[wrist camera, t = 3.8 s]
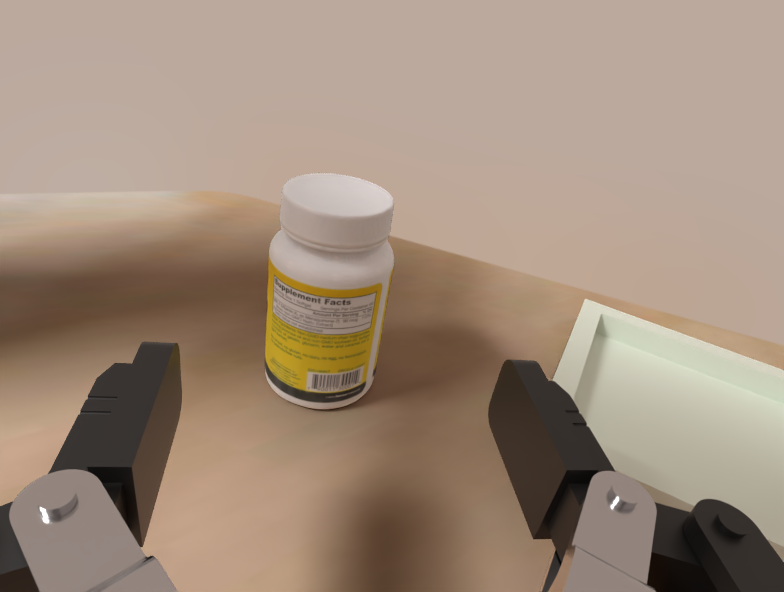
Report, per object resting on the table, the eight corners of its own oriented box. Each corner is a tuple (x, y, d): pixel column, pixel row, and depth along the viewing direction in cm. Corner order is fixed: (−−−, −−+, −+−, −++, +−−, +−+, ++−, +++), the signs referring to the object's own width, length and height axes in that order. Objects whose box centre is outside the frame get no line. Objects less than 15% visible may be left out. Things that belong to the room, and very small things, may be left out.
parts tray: (516, 469, 20) (531, 432, 19) (573, 328, 30) (585, 298, 29) (887, 649, 16) (931, 613, 15) (815, 421, 26) (839, 390, 25)
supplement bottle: (307, 329, 26) (323, 160, 21) (392, 368, 24) (427, 195, 20) (239, 380, 22) (241, 187, 18) (334, 431, 20) (363, 233, 16)
